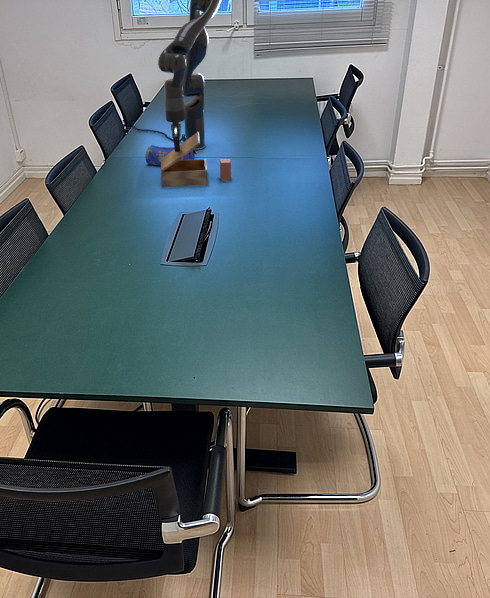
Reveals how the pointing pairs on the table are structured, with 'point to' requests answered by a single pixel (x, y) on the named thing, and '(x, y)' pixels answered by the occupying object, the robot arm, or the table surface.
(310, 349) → the table surface
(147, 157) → the pencil case
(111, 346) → the table surface
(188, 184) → the chest
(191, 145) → the lid
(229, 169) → the block
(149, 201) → the table surface
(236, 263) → the table surface
